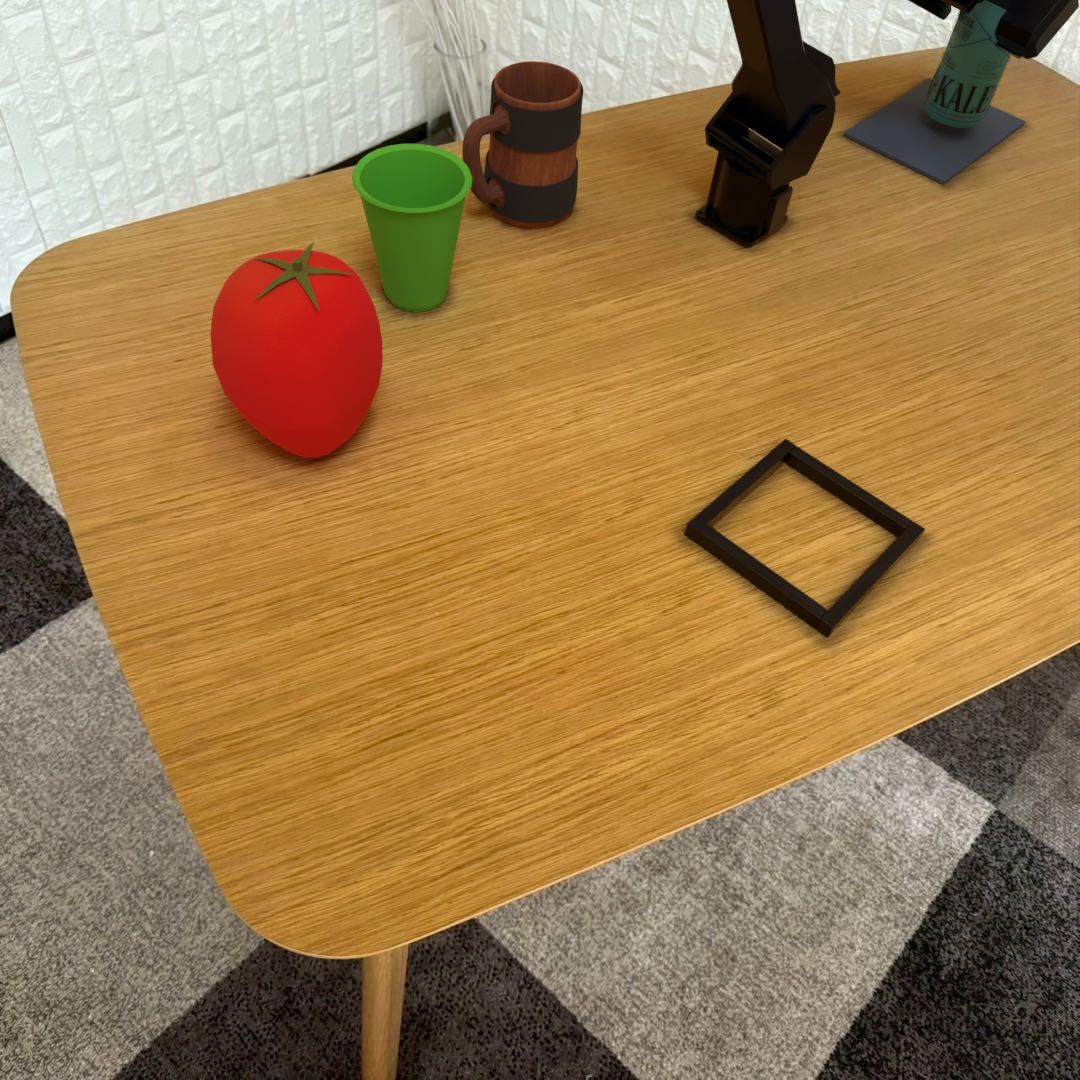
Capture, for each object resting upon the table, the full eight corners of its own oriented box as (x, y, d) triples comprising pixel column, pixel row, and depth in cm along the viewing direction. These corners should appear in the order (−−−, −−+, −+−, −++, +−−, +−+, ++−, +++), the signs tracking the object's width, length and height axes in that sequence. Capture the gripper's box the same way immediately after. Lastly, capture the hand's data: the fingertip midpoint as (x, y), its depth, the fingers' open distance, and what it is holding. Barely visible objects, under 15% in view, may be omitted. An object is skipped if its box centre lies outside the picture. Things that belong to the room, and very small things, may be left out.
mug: (434, 208, 93) (433, 84, 84) (535, 168, 99) (543, 48, 89) (492, 255, 89) (497, 131, 80) (594, 211, 95) (609, 90, 86)
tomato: (395, 477, 72) (385, 320, 61) (230, 492, 70) (190, 332, 59) (379, 359, 80) (368, 200, 69) (230, 370, 78) (194, 208, 67)
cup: (386, 339, 82) (379, 220, 73) (345, 274, 86) (334, 155, 78) (487, 312, 85) (492, 194, 76) (443, 250, 89) (442, 133, 81)
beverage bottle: (951, 106, 111) (1032, -97, 96) (991, 137, 108) (1083, -68, 92) (904, 116, 109) (979, -90, 94) (943, 147, 106) (1029, -61, 90)
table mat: (842, 135, 107) (844, 132, 106) (928, 81, 116) (929, 78, 115) (943, 184, 102) (945, 181, 102) (1024, 124, 111) (1025, 121, 111)
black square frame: (683, 534, 71) (687, 523, 70) (781, 449, 77) (785, 438, 76) (827, 638, 66) (832, 627, 65) (919, 539, 72) (925, 528, 71)
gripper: (1125, -115, 81) (1127, 0, 94) (939, -189, 89) (965, -74, 103) (1023, 8, 84) (1039, 103, 97) (852, -75, 92) (889, 23, 106)
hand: (983, 34), depth 100 cm, fingers open, 9 cm apart
